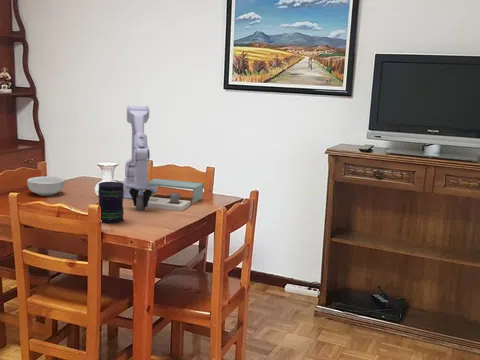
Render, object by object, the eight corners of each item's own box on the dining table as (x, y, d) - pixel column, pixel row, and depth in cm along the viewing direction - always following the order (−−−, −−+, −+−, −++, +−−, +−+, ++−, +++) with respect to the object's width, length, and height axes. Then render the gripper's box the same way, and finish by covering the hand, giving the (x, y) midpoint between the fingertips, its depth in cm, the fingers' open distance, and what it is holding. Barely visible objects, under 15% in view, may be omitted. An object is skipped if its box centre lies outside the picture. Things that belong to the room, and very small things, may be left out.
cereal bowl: (20, 193, 267) (20, 178, 265) (52, 189, 279) (52, 174, 278) (39, 199, 256) (39, 184, 255) (72, 194, 268) (71, 180, 267)
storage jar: (127, 222, 225) (127, 185, 222) (103, 224, 220) (103, 187, 217) (118, 216, 233) (118, 180, 231) (94, 218, 228) (94, 182, 225)
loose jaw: (134, 210, 245) (134, 196, 244) (138, 208, 249) (138, 194, 248) (143, 211, 244) (143, 197, 243) (146, 209, 248) (147, 195, 247)
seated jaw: (168, 207, 253) (169, 194, 252) (171, 205, 257) (172, 192, 256) (177, 208, 252) (177, 195, 251) (180, 206, 256) (180, 193, 255)
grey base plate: (134, 205, 253) (134, 201, 252) (145, 200, 264) (145, 196, 264) (181, 211, 248) (181, 206, 247) (190, 205, 259) (190, 201, 259)
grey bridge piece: (144, 197, 266) (145, 182, 265) (155, 192, 278) (155, 178, 277) (194, 202, 261) (195, 187, 259) (202, 197, 272) (203, 183, 271)
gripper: (121, 175, 242) (121, 206, 244) (153, 178, 239) (152, 210, 241) (128, 173, 249) (128, 203, 251) (159, 175, 245) (158, 206, 248)
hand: (140, 206), depth 247 cm, fingers closed on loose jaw, 4 cm apart
